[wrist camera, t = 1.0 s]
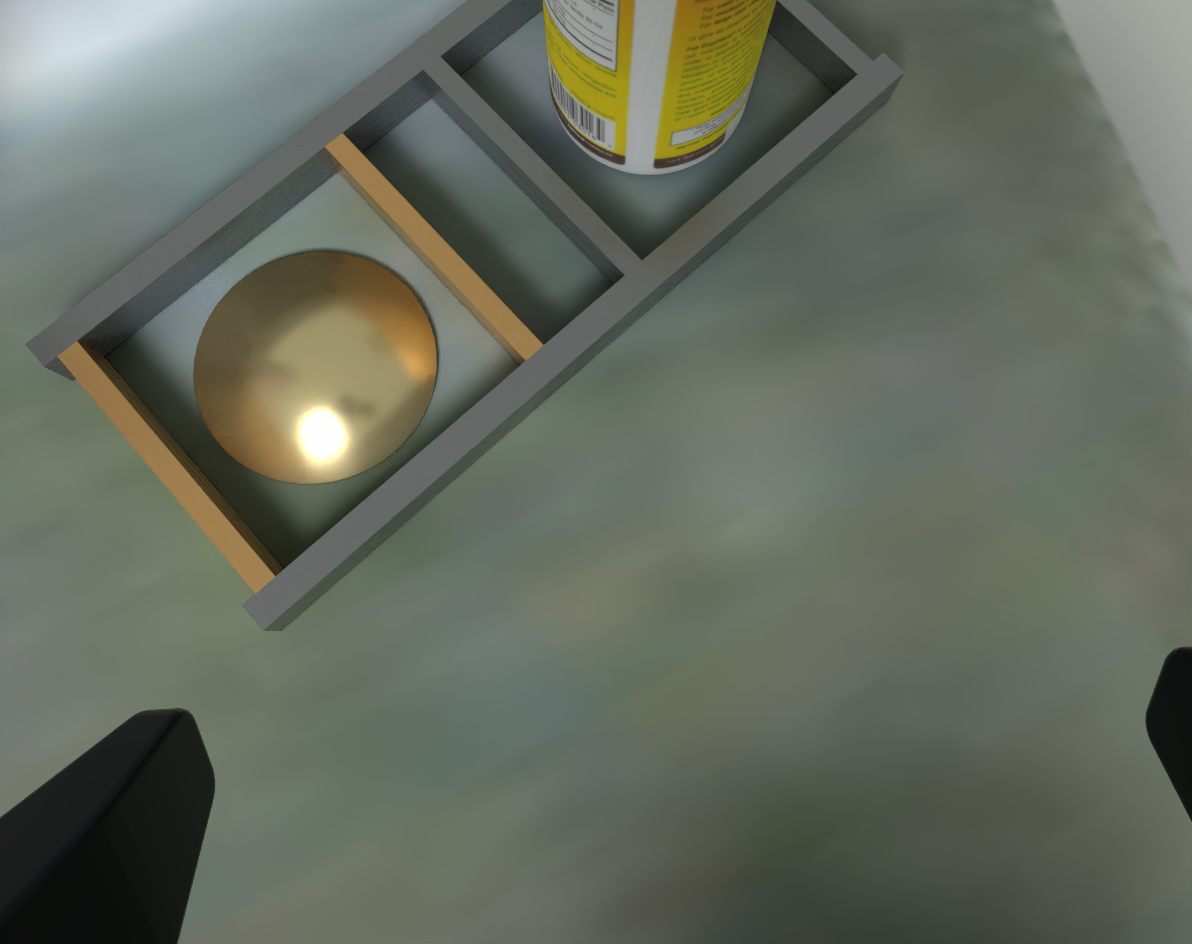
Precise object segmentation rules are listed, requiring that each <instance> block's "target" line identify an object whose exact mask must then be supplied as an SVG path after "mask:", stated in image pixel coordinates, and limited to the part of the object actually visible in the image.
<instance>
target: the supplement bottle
mask: <svg viewBox="0 0 1192 944" xmlns="http://www.w3.org/2000/svg"><path fill="white" fill-rule="evenodd" d="M775 4H776V0H543V11H544V22H545V35H546V47H547V58H548V71H549V82H550V89H551V96H552V100H553V104H554V107H555V111H556V113H557V116H558V118H559V120H560V122H561V124H562V126H563V128H564V129H565V131H566V132H567V134H568V135H569V136H570V138H571V139H572V140H573V141H574V142H575V143H576V144H577V145H578V146H579V147H580V148H581V149H582V150H583V151H584V152H585V153H587V154H588V155H589V156H591V157H592V158H594V159H595V160H597V161H599V162H601V163H602V164H604V165H607V166H609V167H612V168H614V169H617V170H620V171H624V172H628V173H634V174H642V175H659V174H666V173H672V172H676V171H679V170H683V169H686V168H688V167H691V166H693V165H695V164H697V163H699V162H701V161H703V160H705V159H706V158H708V157H709V156H711V155H712V154H713V153H715V152H716V151H717V150H718V149H719V148H720V147H721V146H722V145H723V144H724V143H725V142H726V141H727V140H728V139H729V137H730V136H731V135H732V134H733V132H734V130H735V129H736V127H737V126H738V124H739V122H740V120H741V118H742V115H743V113H744V110H745V107H746V104H747V101H748V98H749V95H750V92H751V88H752V84H753V81H754V77H755V73H756V70H757V66H758V63H759V60H760V56H761V53H762V49H763V45H764V42H765V38H766V35H767V31H768V28H769V24H770V21H771V18H772V14H773V11H774V7H775Z"/></svg>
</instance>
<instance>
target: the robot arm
mask: <svg viewBox="0 0 1192 944" xmlns="http://www.w3.org/2000/svg"><path fill="white" fill-rule="evenodd" d="M1146 728H1147V732H1148V736H1149V738H1150V741H1151V743H1152V745H1153V747H1154V749H1155V751H1156V753H1157V755H1158V757H1159V759H1160V761H1161V763H1162V765H1163V767H1164V768H1165V770H1166V772H1167V774H1168V776H1169V778H1170V780H1171V782H1172V784H1173V786H1174V788H1175V790H1176V792H1177V794H1178V796H1179V798H1180V800H1181V802H1182V804H1183V806H1184V808H1185V810H1186V811H1187V813H1188V815H1189V817H1190V819H1191V821H1192V647H1180V648H1177V649H1174V650H1173V651H1172V652H1171V653H1170V654H1169V655H1168V656H1167V657H1166V659H1165V661H1164V664H1163V667H1162V669H1161V672H1160V675H1159V678H1158V680H1157V683H1156V686H1155V689H1154V691H1153V694H1152V697H1151V700H1150V702H1149V705H1148V708H1147V711H1146ZM214 792H215V776H214V771H213V767H212V765H211V762H210V759H209V756H208V754H207V751H206V748H205V745H204V743H203V740H202V737H201V734H200V732H199V729H198V726H197V724H196V721H195V719H194V717H193V715H192V714H191V713H190V712H189V711H188V710H186V709H181V708H174V709H158V710H146V711H142V712H139V713H137V714H135V715H134V716H132V717H131V718H129V719H128V720H127V721H126V722H124V723H123V724H122V725H120V726H119V727H118V728H116V729H115V730H114V731H112V732H111V733H110V734H109V735H107V736H106V737H105V738H103V739H102V740H101V741H99V742H98V743H97V744H95V745H94V746H93V747H92V748H90V749H89V750H88V751H86V752H85V753H84V754H82V755H81V756H80V757H79V758H77V759H76V760H75V761H73V762H72V763H71V764H69V765H68V766H67V767H65V768H64V769H63V770H62V771H60V772H59V773H58V774H56V775H55V776H54V777H52V778H51V779H50V780H48V781H47V782H46V783H45V784H43V785H42V786H41V787H39V788H38V789H37V790H35V791H34V792H33V793H32V794H30V795H29V796H28V797H26V798H25V799H24V800H22V801H21V802H20V803H18V804H17V805H16V806H15V807H13V808H12V809H11V810H9V811H8V812H7V813H5V814H4V815H3V816H1V817H0V944H177V943H178V940H179V936H180V932H181V928H182V924H183V920H184V916H185V912H186V908H187V904H188V900H189V896H190V892H191V888H192V884H193V880H194V875H195V871H196V867H197V863H198V859H199V855H200V851H201V847H202V843H203V839H204V835H205V831H206V827H207V823H208V819H209V815H210V811H211V807H212V803H213V798H214Z"/></svg>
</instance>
